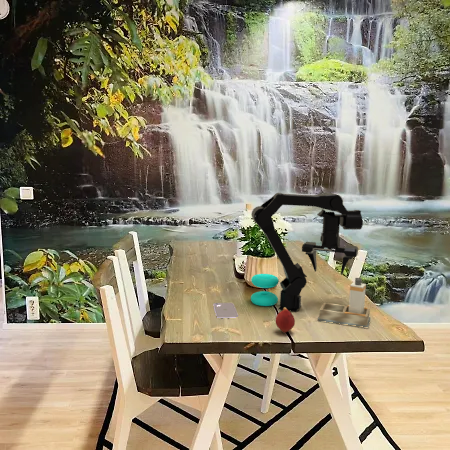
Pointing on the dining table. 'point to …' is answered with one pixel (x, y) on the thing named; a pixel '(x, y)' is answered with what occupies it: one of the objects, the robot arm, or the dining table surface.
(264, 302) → the donuts
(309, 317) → the dining table surface
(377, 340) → the dining table surface
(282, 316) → the onion
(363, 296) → the bottle
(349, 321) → the rack
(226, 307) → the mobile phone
